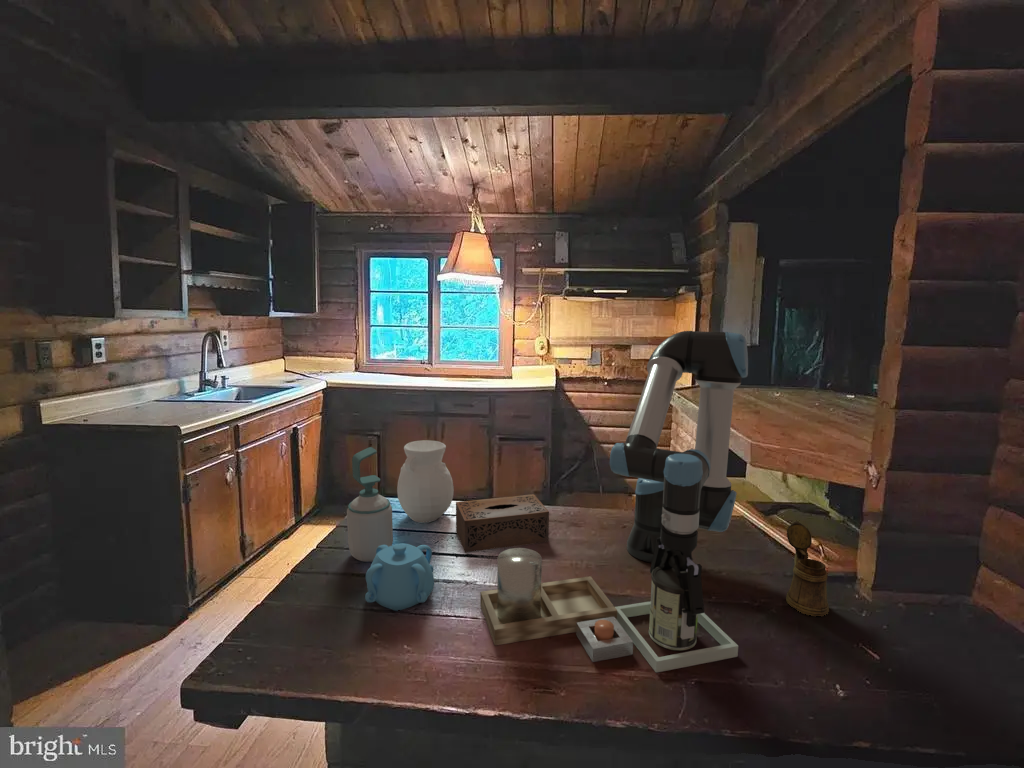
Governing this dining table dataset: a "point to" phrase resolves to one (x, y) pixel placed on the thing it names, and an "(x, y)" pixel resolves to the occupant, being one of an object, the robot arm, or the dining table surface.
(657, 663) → the white square frame
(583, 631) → the button housing
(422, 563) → the decorative pot
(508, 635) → the divided wooden tray
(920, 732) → the dining table surface
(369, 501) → the soap bottle
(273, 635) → the dining table surface
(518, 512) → the tissue box cover
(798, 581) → the wooden mug
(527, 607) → the grey rounded cylinder piece
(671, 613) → the coffee can
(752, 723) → the dining table surface
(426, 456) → the white vase
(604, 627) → the button
